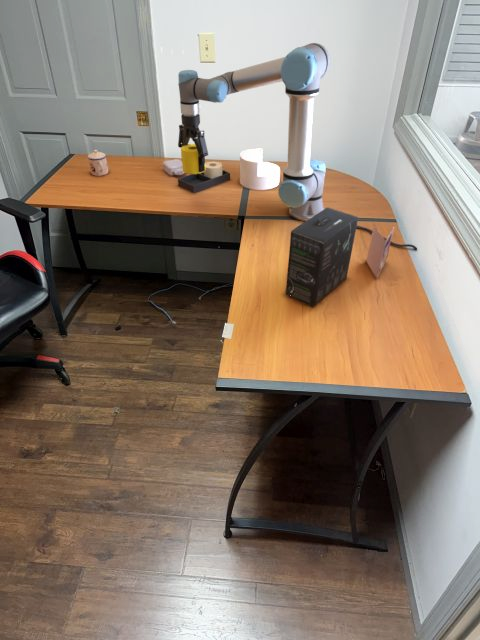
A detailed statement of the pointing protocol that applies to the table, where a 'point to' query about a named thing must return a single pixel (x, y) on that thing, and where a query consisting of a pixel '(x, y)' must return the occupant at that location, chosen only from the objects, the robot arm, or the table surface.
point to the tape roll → (190, 159)
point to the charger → (173, 167)
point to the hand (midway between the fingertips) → (194, 168)
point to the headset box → (320, 255)
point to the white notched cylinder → (257, 171)
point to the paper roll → (213, 169)
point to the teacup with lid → (98, 163)
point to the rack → (201, 181)
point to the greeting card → (378, 251)
